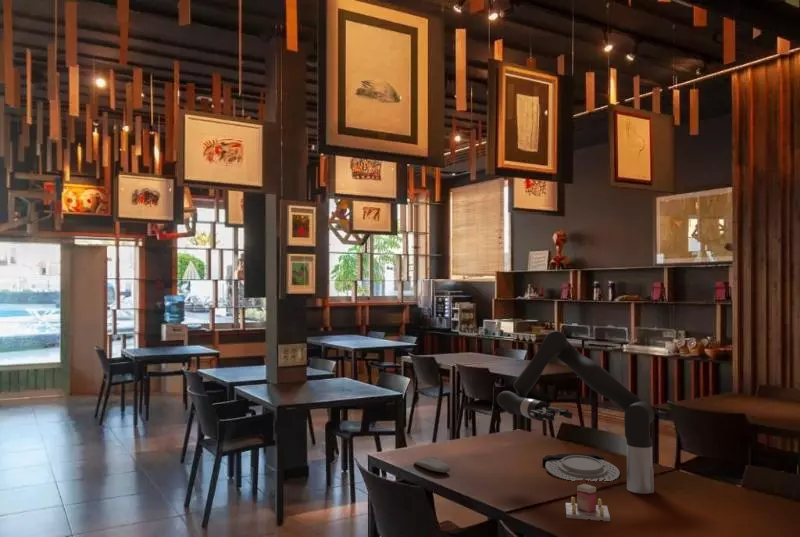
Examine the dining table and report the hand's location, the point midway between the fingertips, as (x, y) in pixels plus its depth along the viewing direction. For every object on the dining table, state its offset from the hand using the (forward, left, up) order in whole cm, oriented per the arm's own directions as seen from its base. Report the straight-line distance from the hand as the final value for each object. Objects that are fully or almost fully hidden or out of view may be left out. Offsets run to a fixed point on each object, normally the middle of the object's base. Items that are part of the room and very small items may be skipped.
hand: (562, 416), depth 238 cm
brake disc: (-8, -39, -31) cm, 50 cm away
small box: (-8, +13, -29) cm, 33 cm away
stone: (+50, -30, -28) cm, 65 cm away
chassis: (-8, +14, -30) cm, 34 cm away
